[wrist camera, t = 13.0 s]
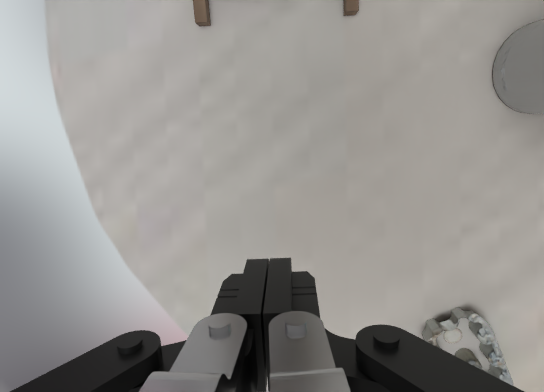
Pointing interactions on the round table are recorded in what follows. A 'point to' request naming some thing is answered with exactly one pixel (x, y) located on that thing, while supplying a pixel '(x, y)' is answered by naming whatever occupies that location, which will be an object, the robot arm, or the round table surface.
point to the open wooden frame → (204, 17)
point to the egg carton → (480, 331)
